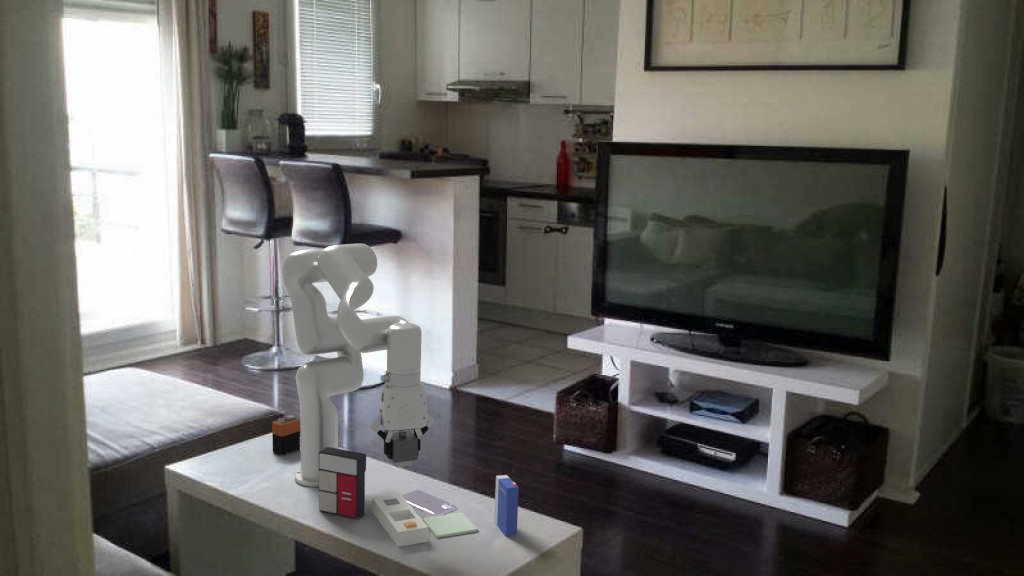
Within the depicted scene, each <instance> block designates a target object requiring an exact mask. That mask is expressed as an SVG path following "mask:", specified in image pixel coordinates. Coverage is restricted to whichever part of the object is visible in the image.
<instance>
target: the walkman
mask: <svg viewBox="0 0 1024 576" xmlns="http://www.w3.org/2000/svg"><path fill="white" fill-rule="evenodd" d="M519 489H520V488H519V486H518V484H517V483H516V482H515V481H513V480H512V478H510V476H508V474H504V475H502V474H501V475H500V474H499V475H496V476H495V490H494V491H495V493H494V519H493V520H494V522H493V523H494V524H495V525H496V526H497V528H498V529H499V530H500V531H501V532H502V534H503V535H504V536H505V537H511V536H517V535H518V512H519Z"/></svg>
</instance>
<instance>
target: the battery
mask: <svg viewBox="0 0 1024 576" xmlns="http://www.w3.org/2000/svg"><path fill="white" fill-rule="evenodd" d="M271 426H272V428H271V429H272V431H271V432H272V435H271V436H272V453H274V454H277V455H279V454H280V456H285V454H286V455H288V454H291V453H293V452H294V453H295V452H296V451H299V450H301V446H300V418H296V417H295V415H294V414H288V415H286V417H281V418H278V419H277V420H274V421H272V425H271Z"/></svg>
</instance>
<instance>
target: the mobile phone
mask: <svg viewBox="0 0 1024 576" xmlns="http://www.w3.org/2000/svg"><path fill="white" fill-rule="evenodd" d="M401 495H402V496H403V497H404V499H405V500H406V501H407V502H408V503H409V505H410V506H411V507H412V508H416V509H418V510H420V511H422V512H424V513H426V514H429V515H430V516H433V515H434V516H440V515H446V514H450V513H451V512H453V511H456V510H458V506H457V505H456V504H453V503H451V502H449V501H446V500H443V499H442V498H439V497H436V496H434V495H432V494H430V493H427V492H425V491H423V490H420V489H416V490H412V491H410V492H407V493H405V494H401Z"/></svg>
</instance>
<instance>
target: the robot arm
mask: <svg viewBox="0 0 1024 576" xmlns="http://www.w3.org/2000/svg"><path fill="white" fill-rule="evenodd" d="M282 264H283V265H282V279H283V284H284V286H285V288H286V292H287V294H288V296H289V299H290V302H291V308H292V316H293V323H294V329H295V337H296V343H297V347H298V349H299V352H300V353H302V354H304V355H307V356H315V355H316V356H318V355H324V354H332V353H336V355H337V356H335V357H329V358H328V357H327V358H322V359H315V360H310V361H307V362H304V363H303V364H302V365H300V366H299V367H298V369H297V371H296V374H295V382H296V389H297V394H298V398H299V399H298V401H299V415H300V416H299V417H300V418H299V419H300V469H299V470H297V471H296V472H295V473H294V481H295V482H296V483H298V484H299V485H301V486H305V487H314V488H319V451H321V450H323V449H325V448H327V447H331V448H336V449H339V416H338V415H339V414H338V411H337V407H336V406H335V405H334V404H333V403H332V401H331V400H330V397H331V396H332V397H333V396H336V395H341V394H346V393H351V392H354V391H357V390H359V389H360V388H361V387H362V385H363V382H364V366H363V358H362V357H363V356H362V354H367V353H374V352H375V353H376V352H381V351H386V370H385V374H383V375H382V374H381V375H380V381H381V382H384V383H383V387H382V392H381V397H380V405H379V413H378V415H377V416H376V418H374V420H373V421H372V422H371V424H369V429H370V430H371V431H373V432H374V433H375V434H376V435H378V436H379V437H380V438H381V439H382V440H383V455H385V456H386V458H388V460H391V459H392V450H393V443H392V442H391V438H392V435H393V433H395V432H399V431H411V430H412V433H413V434H414V435H415V436H416V437H417V438H418V456H419V451H421V440H422V439H423V437H424V435H425V434H426V432H428V430H429V429H430V428H432V426H433V425H434V424H435V422H436V421H435V419H434V418H433V417H432V416H431V415H430V414H429V412H428V407H427V395H426V388H425V384H424V383H423V382H421V376H422V375H421V373H422V370H421V368H422V336H423V335H422V329H421V326H419V325H418V324H415V323H411V322H409V321H407V320H406V319H405V318H404V317H402V316H401V315H400V316H399V315H389V316H381V317H372V318H371V317H370V318H365V319H364V318H363V319H361V318H360V316H359V315H358V313H356V310H357V309H359V308H360V307H362V306H364V305H365V304H366V303H367V302H368V301H370V299H371V298H372V296H373V294H374V290H375V289H374V284H373V281H372V280H371V278H370V277H371V276H373V275H374V274H375V273H376V270H377V268H378V257H377V254H376V253H375V251H374V250H373V248H372V247H371V246H369V245H367V244H366V243H348V244H347V243H346V244H334V245H330V246H327V247H325V248H312V249H302V250H296V251H294V252H292V253H289V255H287V256H286V257H285V258H284V261H283V263H282ZM325 282H326V283H328V284H329V286H330V287H331V288H332V290H333V291H334V293H335V295H336V296H337V297H338V298H339V300H340V301H339V302H338V307H337V309H336V310H337V311H336V315H335V314H334V315H329V314H328V310H327V302H326V299H325V296H324V295H323V292H321V291H320V289H319V288H318V287H317V286H316V285H314V284H315V283H325ZM380 425H381V426H382V427H383V429H384V430H382V429H381V428H380Z"/></svg>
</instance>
